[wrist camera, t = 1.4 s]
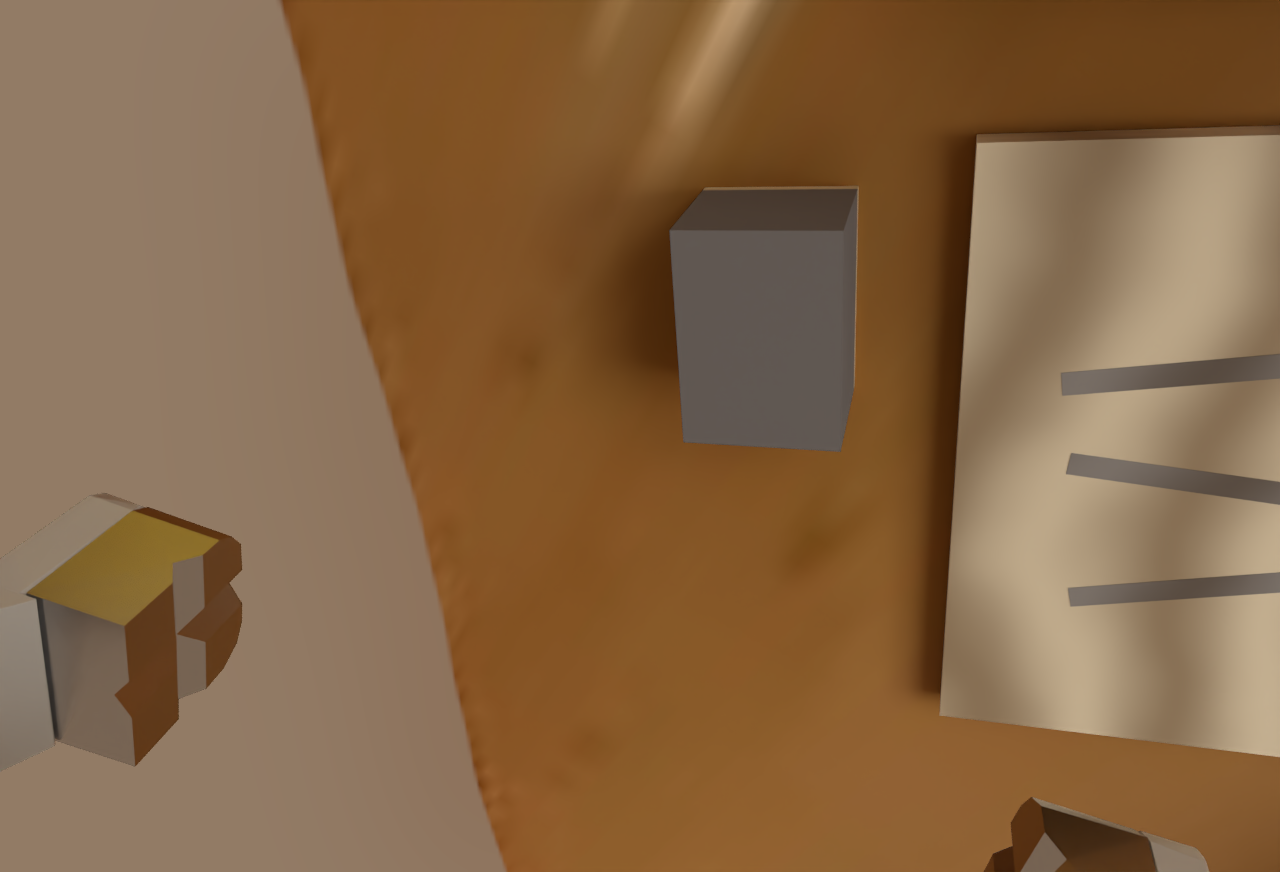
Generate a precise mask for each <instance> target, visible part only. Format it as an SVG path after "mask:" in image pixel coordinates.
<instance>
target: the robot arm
mask: <svg viewBox="0 0 1280 872" xmlns="http://www.w3.org/2000/svg"><path fill="white" fill-rule="evenodd" d="M241 570H242V559H241V544H240V543H239V542H238V541H236V540H235V539H234V538H232V537H231V536H228V535H226V534H223V533H220V532H217V531H214V530H212V529H209V528H206V527H203V526H200V525H197V524H195V523H192V522H189V521H186V520H183V519H180V518H178V517H175V516H172V515H169V514H166V513H163V512H161V511H158V510H155V509H152V508H149V507H147V508H145V507H143V506H140V505H137V504H134V503H132V502H129V501H126V500H123V499H121V498H118V497H115V496H112V495H110V494H107V493H102V494H96V495H90V496H88V497H86V498H85V499H83V500H82V501H81V502H79V503H78V504H76V505H75V506H74V507H72V508H71V509H69V510H68V511H67V512H65V513H64V514H62V515H61V516H60V517H58V518H57V519H55V520H54V521H53V522H51V523H50V524H48V525H47V526H45V527H44V528H43V529H41V530H40V531H38V532H37V533H36V534H34V535H33V536H31V537H30V538H29V539H27V540H26V541H24V542H23V543H22V544H20V545H19V546H17V547H16V548H14V549H13V550H12V551H10V552H9V553H7V554H6V555H5V556H3V557H2V558H0V772H1V771H3V770H5V769H7V768H9V767H11V766H13V765H15V764H17V763H20V762H22V761H24V760H26V759H28V758H30V757H32V756H34V755H36V754H39V753H41V752H43V751H45V750H47V749H49V748H51V747H53V746H55V741H58V742H62V743H65V744H67V745H71V746H74V747H77V748H80V749H83V750H86V751H89V752H92V753H95V754H99V755H101V756H104V757H107V758H111V759H114V760H117V761H120V762H123V763H126V764H129V765H132V766H136V765H137V764H138V763H139V762H140V761H141V760H142V759H143V757H144V756H145V755H146V754H147V753H148V752H149V751H150V750H151V749H152V748H153V747H154V745H155V744H156V743H157V742H158V741H159V740H160V739H161V738H162V737H163V736H164V735H165V733H166V732H167V731H168V730H169V729H170V728H171V727H172V726H173V725H174V723H176V721H177V720H178V719H179V714H178V713H179V709H178V708H179V705H178V704H179V699H180V698H182V697H185V696H188V695H190V694H193V693H196V692H198V691H201V690H204V689H206V688H207V687H208V686H209V685H210V684H211V682H212V681H213V680H214V679H215V678H216V677H217V676H218V674H219V673H220V672H221V671H222V670H223V668H224V666H225V665H226V663H227V661H228V659H229V657H230V655H231V653H232V651H233V649H234V647H235V645H236V644H237V640H238V636H239V632H240V627H241V623H242V602H241V601H240V600H239V598H238V596H237V595H236V593H235V591H234V590H233V588H232V587H231V585H230V583H229V582H230V581H231V580H232V579H233V578H234V577H235V576H236V575H237V574H238V573H239V572H240V571H241ZM1011 833H1012V844H1013V846H1011V847H1009V848H1006V849H1004V850H1001V851H999V852H996V853H994V854H993V855H992V857H991V859H990V861H989V863H988V864H987V866H986V868H985V870H984V872H1209V870H1208V866H1207V863H1206V860H1205V858H1204V857H1203V856H1202V854H1201V853H1200V852H1199V851H1198V850H1197V848H1194V847H1191V846H1188V845H1185V844H1182V843H1178V842H1175V841H1172V840H1169V839H1165V838H1162V837H1159V836H1156V835H1152V834H1149V833H1146V832H1143V831H1139V832H1137V831H1135V830H1134V829H1131V828H1128V827H1125V826H1122V825H1118V824H1115V823H1112V822H1109V821H1106V820H1103V819H1100V818H1096V817H1093V816H1090V815H1087V814H1084V813H1081V812H1077V811H1074V810H1071V809H1068V808H1065V807H1062V806H1059V805H1055V804H1052V803H1049V802H1046V801H1043V800H1040V799H1036V798H1033V797H1031V798H1029V799H1028V800H1027V801H1026V802H1025V803H1023V804H1022V805H1021V806H1020V808H1019V810H1018V811H1017V813H1016V815H1015V816H1014V818H1013V820H1012V822H1011Z"/></svg>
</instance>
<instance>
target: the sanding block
mask: <svg viewBox="0 0 1280 872" xmlns="http://www.w3.org/2000/svg"><path fill="white" fill-rule="evenodd" d="M858 192H859V186H795V187H705V188H704V189H703V190H702V192H701V193H700V194H699V195H698V196H697V198H696V199H695V200H694V201H693V203H692V204H691V205H690V206H689V207H688V209H687V210H686V211H685V212H684V213H683V215H682V216H681V217H680V218H679V219H678V221H677V222H676V223H675V224H674V225H673V227H672V228H671V229H670V230H669V232H670V247H671V262H672V277H673V292H674V307H675V322H676V337H677V352H678V367H679V382H680V397H681V412H682V427H683V442H688V443H704V444H721V445H738V446H754V447H771V448H788V449H804V450H821V451H838V452H841V447H842V442H843V438H844V433H845V428H846V424H847V419H848V414H849V409H850V405H851V400H852V395H853V391H854V386H855V341H856V291H857V241H858Z"/></svg>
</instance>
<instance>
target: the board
mask: <svg viewBox="0 0 1280 872" xmlns="http://www.w3.org/2000/svg"><path fill="white" fill-rule="evenodd" d="M940 716H948V717H956V718H965V719H973V720H981V721H989V722H997V723H1006V724H1014V725H1022V726H1030V727H1038V728H1046V729H1055V730H1063V731H1071V732H1079V733H1087V734H1095V735H1104V736H1112V737H1120V738H1128V739H1136V740H1145V741H1153V742H1161V743H1169V744H1177V745H1185V746H1194V747H1202V748H1210V749H1218V750H1226V751H1235V752H1243V753H1251V754H1259V755H1267V756H1275V757H1280V125H1276V126H1242V127H1207V128H1173V129H1139V130H1104V131H1070V132H1036V133H1001V134H977V136H976V152H975V167H974V183H973V198H972V213H971V229H970V244H969V260H968V275H967V290H966V306H965V321H964V336H963V352H962V367H961V383H960V398H959V413H958V429H957V444H956V460H955V475H954V490H953V506H952V521H951V537H950V552H949V567H948V583H947V598H946V613H945V629H944V644H943V660H942V675H941V690H940Z"/></svg>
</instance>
